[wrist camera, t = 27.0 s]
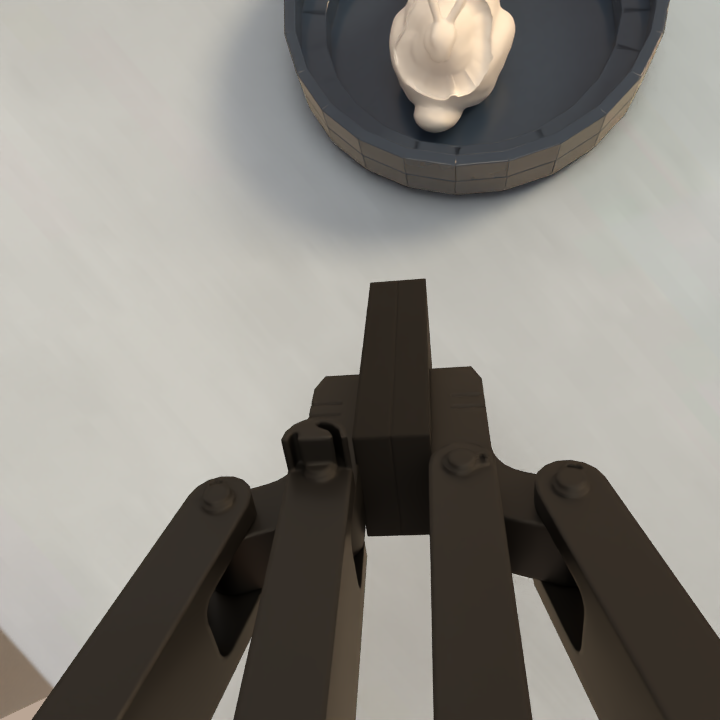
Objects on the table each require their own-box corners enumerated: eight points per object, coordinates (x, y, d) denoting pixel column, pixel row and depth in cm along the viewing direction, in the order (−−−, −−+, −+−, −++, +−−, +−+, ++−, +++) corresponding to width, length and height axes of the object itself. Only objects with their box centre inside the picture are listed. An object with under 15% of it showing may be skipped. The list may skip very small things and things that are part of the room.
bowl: (302, 214, 38) (284, 181, 34) (299, -80, 42) (283, -140, 38) (668, 184, 35) (694, 144, 31) (627, -127, 39) (646, -196, 35)
